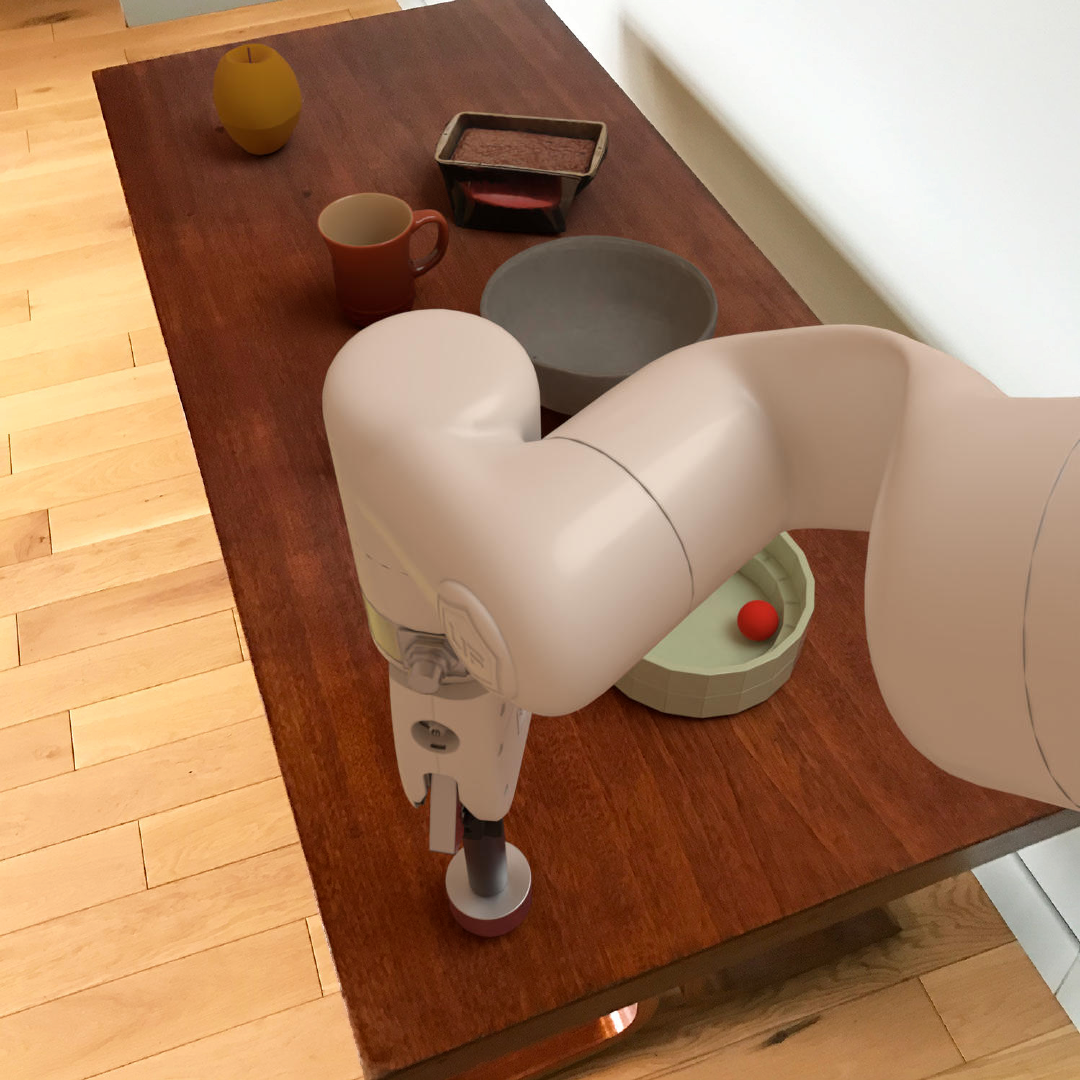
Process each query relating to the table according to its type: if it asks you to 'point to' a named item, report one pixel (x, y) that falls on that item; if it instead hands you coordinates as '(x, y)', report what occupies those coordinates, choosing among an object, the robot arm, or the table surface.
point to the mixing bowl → (730, 641)
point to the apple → (257, 98)
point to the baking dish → (517, 168)
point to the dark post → (489, 886)
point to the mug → (377, 253)
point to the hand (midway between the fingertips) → (479, 800)
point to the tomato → (757, 620)
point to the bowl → (597, 312)
